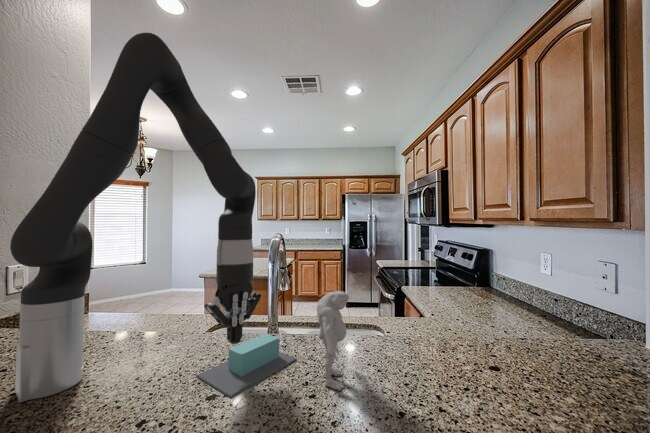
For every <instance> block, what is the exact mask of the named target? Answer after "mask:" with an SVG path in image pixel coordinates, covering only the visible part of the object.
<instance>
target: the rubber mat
mask: <svg viewBox="0 0 650 433" xmlns="http://www.w3.org/2000/svg"><path fill="white" fill-rule="evenodd" d="M297 359H298V358H296V357H294V356H292V355H289V354H286V353H284V352H281V351H279V357H278V358H276V359H274V360H272V361H271V362H269V363H267V364H265V365H263V366H261V367H259V368H257V369H255V370H253V371H251V372H249V373H247V374H246V375H244V376H242V377H241V376H239V375H237V374H235V373H233V372H231V371H229V360H227V361H225V362H223V363H220V364H219V365H215V366H214V367H211V368H210V369H207V370H204V371H203V372H199V373H198V374H196V378H198V379H199V380H200V381H202V382H204V383H205V384H207V385H209V386H210V387H212V388H214V389H215V390H217V391H219V392H220V393H222V394H224V395H225V396H226V397H228V398H230V399H231V398H233V397H235V396H237V395H239V394H240V393H241V392H243V391H244V392H245V390H247V389H249V388H250V387H252V386H255V385H256V384H257V383H259V382H261V381H263V380H265V379H266V378H268V377H270V376H272V375H273V374H275V373H276V372H278V371H280V370H282V369H283V368H284V369H285V367H288V366H289V365H291V364H293V363H294V362H296V361H297Z"/></svg>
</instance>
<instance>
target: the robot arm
mask: <svg viewBox="0 0 650 433" xmlns="http://www.w3.org/2000/svg"><path fill="white" fill-rule="evenodd" d="M150 90H151V92H153V93H154V94H155V95H156V96H157V97H158V98H159V99H160V100H161V101H162V102H163V104H165V106H166V107H167V108H168V109H169V111H170V112H171V114H172V115H173V116H174V118H175V120H176V122H177V124H178V126H179V129H180V132H181V133H182V136H183V137H184V139H185V141H186V142H187V144H188V146H190V148H191V150H192V152H193V153H194V154H195V156H196V157H197V159H198V160H199V162H200V163H201V164H202V166H203V169H204V171H205V173H206V176H207V178H208V180H209V182H210V184H211V186H212V187H213V188H214V189H215V191H216V192H217V193H218V194H219V195H220V196H221V197H222V198H223V199H224V200H225V201H224V209H223V213H221V214H220V215H219V217H218V225H217V227H218V230H217V232H218V235H217V236H218V238H217V239H218V241H217V247H216V281H215V282H216V287H217V289H216V291H215V294H214V296H215V297H214V298H213V299H212V300H211V301H210V302H206V303H205V304H204V308H205V310H206V312H208V313H209V314H210V315H211V317H212V318H213V319H214V320H215V321H216V322H217V323H218V324H220V325H223V326H225V327H226V340H227V341H228V342H229V343H230V344H232V345H236V344H238V343H240V342H241V340H242V337H243V324H244V322H245V321H246V320H250V318H251V317H252V315H253V313H254V311H255V309H256V307H257V305H258V304H259V301H260V300H261V298H262V294H261V293H259V292H256V291H254V286H253V284H252V282H253V281H254V246H253V245H254V244H253V216H254V210H255V209H254V208H255V203H256V193H257V192H256V182H255V179H254V178H253V177H252V176H251V174H249V173H247V172H246V171H245V170H244V169H243V167H242V166H241V165H240V164H239V162H238V161H237V160H236V158H235V156H234V155H233V153H232V149H231V147H230V145H229V144H228V142H227V141H226V139H225V138H224V136H223V135H222V133H221V132H220V130H219V129H218V127H217V125H216V124H215V123H214V122H213V120H212V119H211V117H209V115H208V114H207V113H206V112H205V110H204V109H203V108H202V106H201V105H200V103H199V102H198V100H197V98H196V97H195V95H194V93H193V91H192V89H191V88H190V85H189V83H188V80H187V78H186V76H185V74H184V71H183V69H182V66H181V64H180V62H179V60H178V59H177V58H176V56H175V55H174V54H173V52H172V51H171V49H170V48H169V47H168V45H167V44H166V42H165V41H163V39H162V38H161V37H159V36H158V35H156V34H155V33H152V32H146V31H144V32H139V33H137V34H135V35H133V36H132V37H131V38H129V39H128V41H127V42H125V44H124V46H123V48H122V50H121V52H120V53H119V55H118V58H117V61H116V63H115V65H114V68H113V70H112V73H111V76H110V78H109V80H108V82H107V84H106V87H105V89H104V91H103V93H102V95H101V96H100V98H99V100H98V101H97V103H96V105H95V107H94V109H93V110H92V113H91V114H90V116H89V118H88V119H87V120H86V123H84V126H83V127H82V128H81V130H80V132H79V133H78V135H77V137H76V139H74V140H75V141H74V142H73V144H72V145H71V147H70V150H69V151H68V153H67V155H66V157H65V159H64V160H63V162H62V163H61V165H60V167H59V168H58V169H57V172H56V173H55V175H54V177H53V178H52V179H51V181H50V182H49V184H48V186H47V188H45V190H44V191H43V193H42V195H41V196H40V197H39V198H38V200H37V201H36V202H35V204H34V205H33V207H32V208H31V209H30V210H29V211H28V213H27V214H26V215H25V216H24V218H23V219H22V220H21V222H20V223H19V224H18V226H17V227H16V228H15V230H14V232H13V234H12V237H11V240H10V252H11V256H12V257H13V259H14V260H15V262H17V264H20V265H22V266H24V267H25V266H26V267H30V268H39V270H38V272H37V274H36V276H35V277H34V278H33V280H32V281H30V282H29V283H28V284H26V285H25V286H24V287H22V289H21V292H20V308H19V333H18V341H17V342H16V360H15V383H14V385H15V386H14V392H15V395H16V398H17V401H18V403H23V402H27V401H30V400H36V399H37V400H38V399H42V398H46V397H50V396H52V395H53V396H54V395H57V394H59V393H61V392H63V391H66V390H68V389H70V388H72V387H74V386H75V385H77V384H78V383H80V381H82V378H83V369H84V367H83V365H84V336H85V335H84V334H85V333H84V330H85V329H84V328H85V301H86V300H85V294H86V287H87V284H88V283H89V280H90V278H91V273H92V272H91V271H92V261H93V260H92V258H93V237H92V234H91V231H90V229H89V228H88V226H86V225H85V224H84V223H83V222H81V221H79V220H80V218H81V216H82V215H83V213H84V212H85V210H86V209H87V207H88V206H89V205H90V204H91V203H92V202H93V201H94V199H96V198H97V197H98V196H99V195H101V193H103V192H104V191H105V190H107V189H108V188H109V187H111V185H113V184H114V183H115V182H116V181H117V180H118V179H119V178H120V177H121V176H122V174H123V173H124V171H125V170H126V169H127V167H128V164H129V163H130V161H132V160H131V159H132V158H133V156H134V154H135V152H136V149H137V147H138V144H139V139H140V138H139V137H140V136H139V135H140V125H141V124H140V121H141V120H140V119H141V111H142V106H143V104H144V101H145V99H146V96H147V95H148V93H149V91H150ZM222 308H223V312H222V310H221V309H222Z"/></svg>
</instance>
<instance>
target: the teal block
mask: <svg viewBox="0 0 650 433" xmlns="http://www.w3.org/2000/svg"><path fill="white" fill-rule="evenodd" d="M279 352H280V338H279V337H277V336H274V335H271V334H268V333H265V334H262V335H260V336H257V337H255V338H253V339H250V340H248V341H245V342H243V343H240V344H237V345H235V346H233V347H231V348H228V361H229V371H231V372H233V373H235V374H237V375H239V376H241V377H242V376H244V375H246V374H247V373H249V372H251V371H253V370H255V369H257V368H259V367H261V366H263V365H265V364H267V363H269V362H271V361H272V360H274V359H276V358H278V357H279Z"/></svg>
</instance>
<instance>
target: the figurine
mask: <svg viewBox="0 0 650 433" xmlns="http://www.w3.org/2000/svg"><path fill="white" fill-rule="evenodd" d="M349 299H350V297H349V295H348V293H346V292H345V291H342V290H336V291H335V290H334V291H330V292H328V293H326V294H325V295H323V296H322V297H321V298H320V299H318V301H317V304H316V306H317V307H316V316H317V320H318V323H319V334H318V338H319V339H320V340H322V341H323V346H324V347H325V352H324V359H325V361H324V369H325V371H324V377H326V380H325V382H324V385H325V386H326V387H329V388H331V389H333V390H337V391H340V392H341V391H342V389H344V383H343V382H339V381H336V380H335V379H333V378H332V376H335V377H338V376H339V377H342V376H343V373H342V371H341V370H340V369H338V368H336V369H334V368H333V364H334V363H333V362H334V361H336V362H338V361H339V360H338V357H337V355H340V351H339V349H338V347H337V346H338V342H342V341H344V339H345V338H346V337H347V326H346V323H345V322H344V321H343V315H342V313H341V310H343V309H344V308H346V307H345V306H346V305H347V303H348V301H349Z"/></svg>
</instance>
